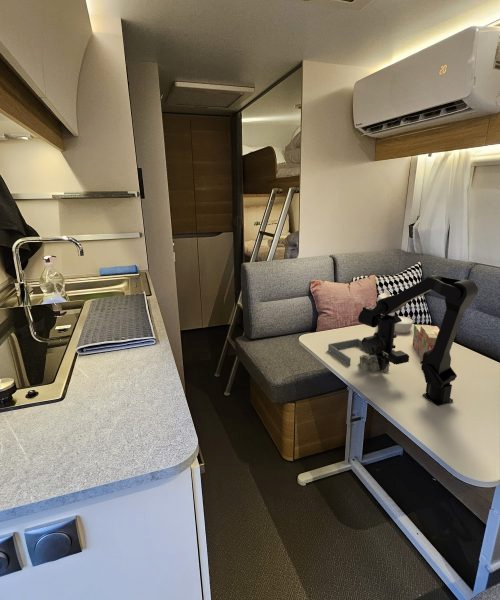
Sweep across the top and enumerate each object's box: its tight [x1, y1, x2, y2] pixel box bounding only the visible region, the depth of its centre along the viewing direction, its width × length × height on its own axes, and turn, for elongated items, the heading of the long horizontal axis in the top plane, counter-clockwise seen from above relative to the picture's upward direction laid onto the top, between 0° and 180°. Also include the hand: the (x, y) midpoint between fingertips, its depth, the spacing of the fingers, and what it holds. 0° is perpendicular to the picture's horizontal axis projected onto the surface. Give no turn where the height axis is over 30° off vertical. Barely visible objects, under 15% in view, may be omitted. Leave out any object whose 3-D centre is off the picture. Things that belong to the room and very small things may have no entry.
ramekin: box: [394, 315, 414, 334], centre depth 168 cm, size 11×11×5 cm
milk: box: [374, 288, 396, 333], centre depth 159 cm, size 6×6×22 cm
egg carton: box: [359, 354, 391, 372], centre depth 133 cm, size 11×8×4 cm
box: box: [327, 338, 376, 366], centre depth 143 cm, size 15×15×3 cm
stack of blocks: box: [412, 324, 440, 360], centre depth 140 cm, size 21×6×12 cm, turn 169°
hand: (381, 370), depth 128 cm, fingers closed
